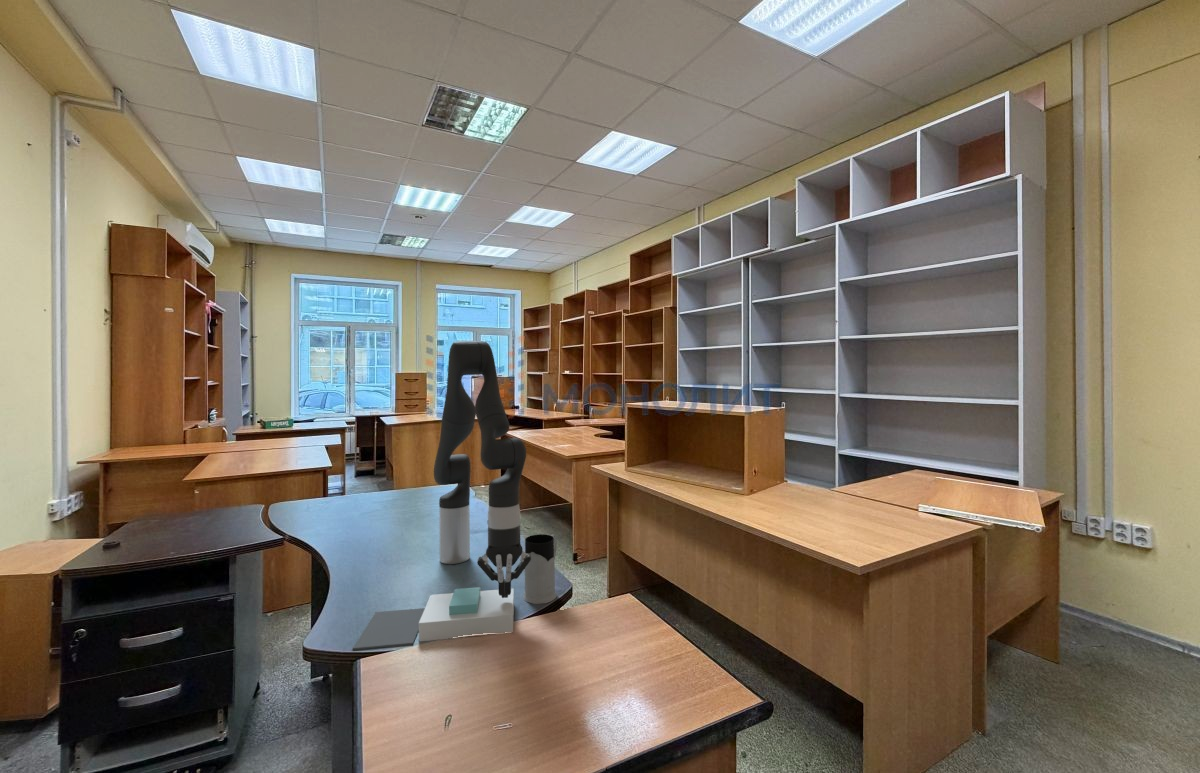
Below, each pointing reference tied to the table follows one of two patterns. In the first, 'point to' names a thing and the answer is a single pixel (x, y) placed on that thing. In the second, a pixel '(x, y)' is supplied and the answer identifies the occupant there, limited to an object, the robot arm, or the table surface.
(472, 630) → the plate
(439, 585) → the table surface
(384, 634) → the mat
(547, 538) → the glass holder
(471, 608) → the teal rectangular box
